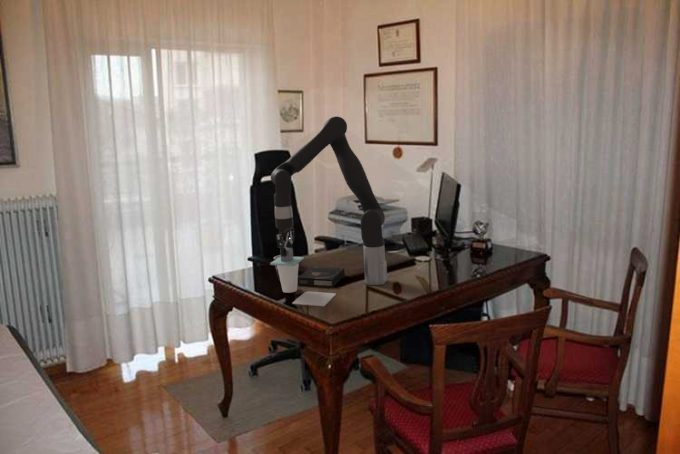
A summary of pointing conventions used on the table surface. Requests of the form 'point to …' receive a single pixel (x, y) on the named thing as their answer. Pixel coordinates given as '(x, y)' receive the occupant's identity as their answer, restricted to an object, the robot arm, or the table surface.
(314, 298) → the tray
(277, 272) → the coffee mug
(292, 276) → the foam cup
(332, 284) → the portable cd player
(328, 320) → the table surface
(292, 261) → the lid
